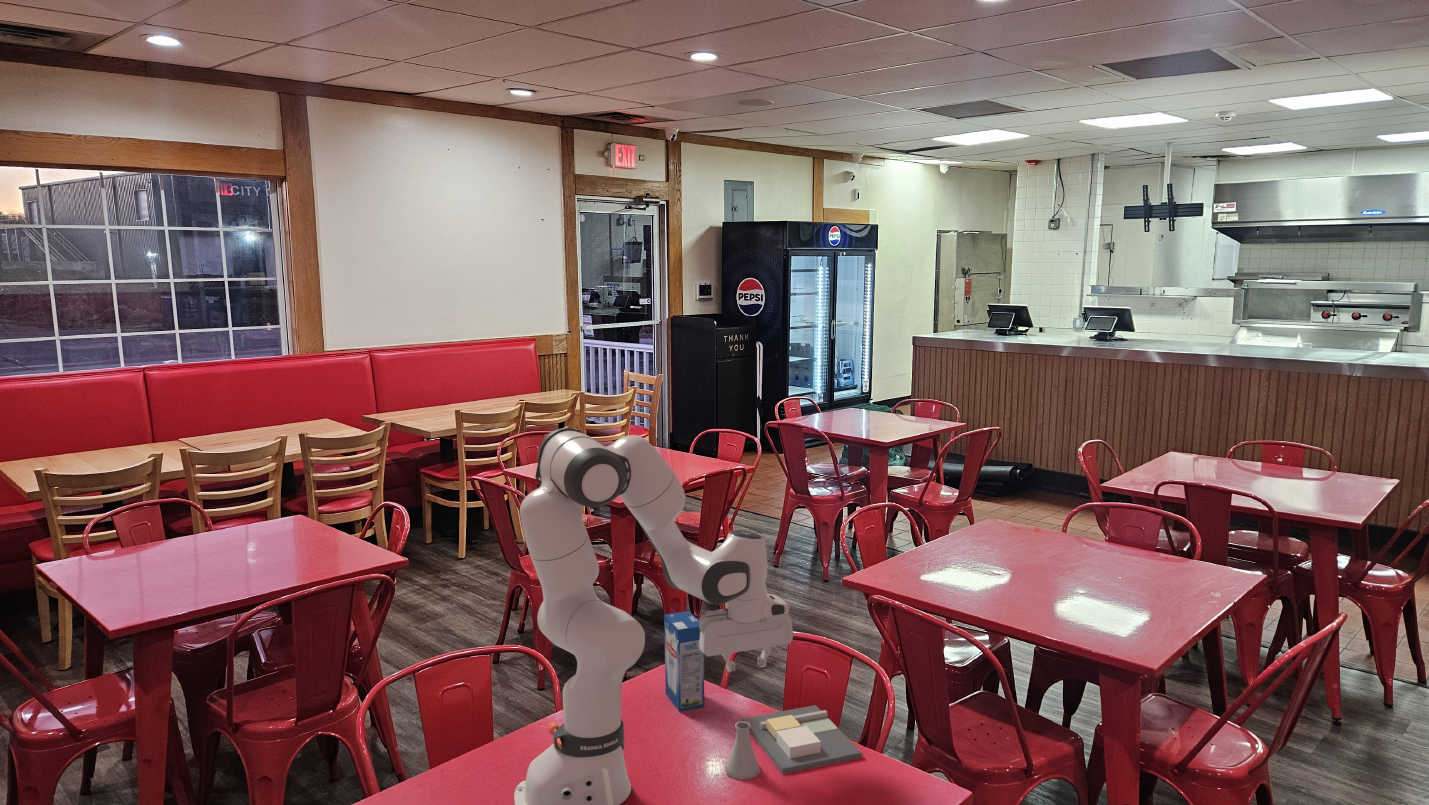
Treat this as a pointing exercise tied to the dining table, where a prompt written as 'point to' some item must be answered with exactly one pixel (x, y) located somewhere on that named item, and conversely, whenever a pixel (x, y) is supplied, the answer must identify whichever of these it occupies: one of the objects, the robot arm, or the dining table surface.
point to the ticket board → (804, 762)
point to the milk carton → (683, 661)
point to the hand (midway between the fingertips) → (746, 668)
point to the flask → (742, 755)
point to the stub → (781, 724)
